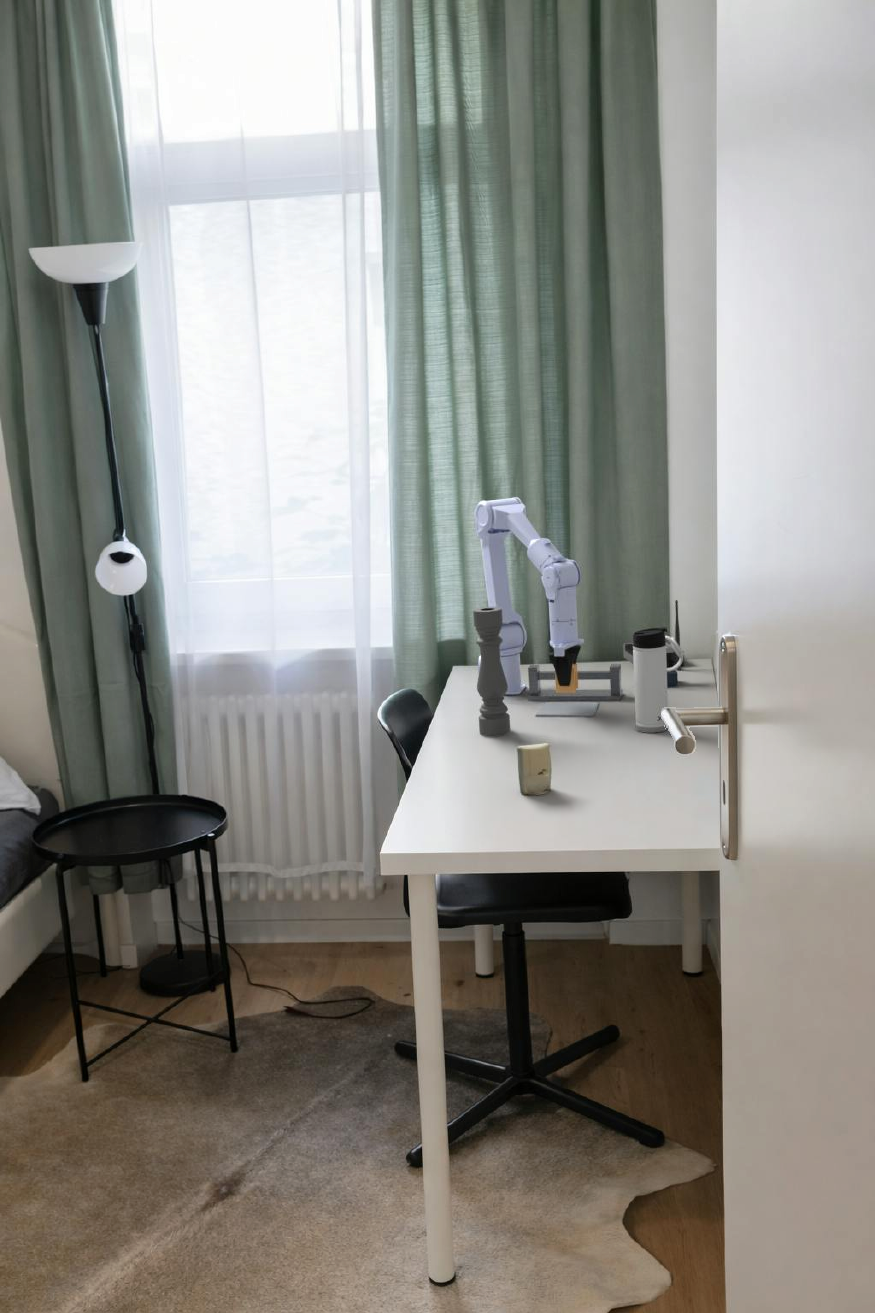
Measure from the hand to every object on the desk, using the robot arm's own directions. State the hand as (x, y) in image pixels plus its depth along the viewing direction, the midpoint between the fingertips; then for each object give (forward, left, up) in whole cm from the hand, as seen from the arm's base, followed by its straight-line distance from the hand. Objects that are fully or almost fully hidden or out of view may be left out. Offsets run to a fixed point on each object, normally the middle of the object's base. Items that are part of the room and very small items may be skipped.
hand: (566, 682), depth 237 cm
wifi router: (+15, +45, -6) cm, 47 cm away
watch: (+19, +23, -6) cm, 30 cm away
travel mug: (+19, -14, -6) cm, 24 cm away
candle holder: (-12, -17, -6) cm, 22 cm away
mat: (0, 0, -6) cm, 6 cm away
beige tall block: (+3, -52, -6) cm, 53 cm away
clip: (0, 0, -2) cm, 2 cm away
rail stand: (0, +11, -6) cm, 12 cm away
